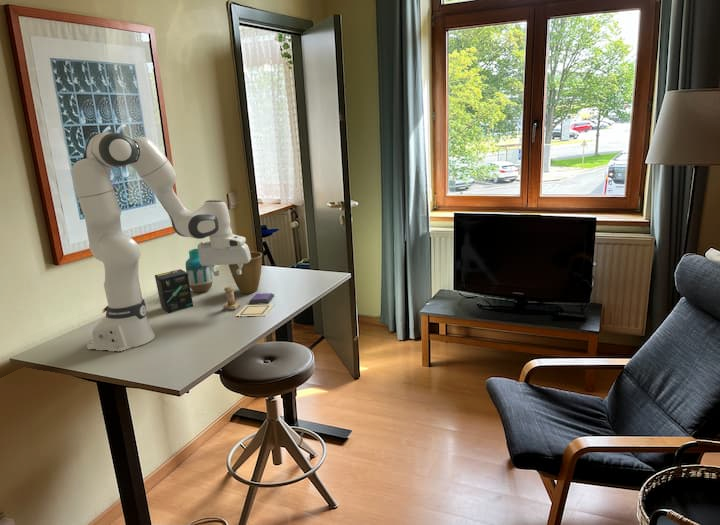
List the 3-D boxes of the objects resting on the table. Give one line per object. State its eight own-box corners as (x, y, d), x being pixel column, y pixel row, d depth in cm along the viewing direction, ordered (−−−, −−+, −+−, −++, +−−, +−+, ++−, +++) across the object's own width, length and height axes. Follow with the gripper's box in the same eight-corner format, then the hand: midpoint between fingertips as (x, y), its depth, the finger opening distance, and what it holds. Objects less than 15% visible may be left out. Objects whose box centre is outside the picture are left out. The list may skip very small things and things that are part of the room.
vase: (185, 294, 232) (177, 253, 227) (199, 286, 242) (192, 246, 237) (205, 295, 229) (198, 253, 224) (218, 287, 238) (212, 246, 233)
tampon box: (186, 301, 223) (180, 268, 219) (194, 306, 216) (188, 272, 212) (160, 308, 217) (153, 274, 213) (167, 313, 210) (160, 278, 206)
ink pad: (249, 304, 213) (249, 299, 212) (256, 297, 221) (255, 293, 220) (268, 303, 212) (268, 299, 211) (274, 296, 219) (273, 292, 219)
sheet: (234, 317, 200) (234, 316, 200) (245, 305, 211) (245, 304, 211) (265, 316, 198) (265, 315, 198) (274, 304, 209) (274, 304, 209)
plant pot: (253, 297, 220) (247, 261, 216) (225, 295, 227) (219, 259, 223) (273, 286, 233) (268, 251, 229) (246, 284, 240) (241, 250, 235)
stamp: (223, 310, 208) (220, 289, 206) (228, 306, 213) (225, 285, 210) (235, 310, 207) (232, 289, 205) (240, 305, 212) (237, 285, 210)
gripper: (193, 244, 201) (199, 278, 205) (243, 241, 198) (249, 276, 202) (200, 240, 207) (206, 273, 211) (249, 237, 204) (254, 271, 208)
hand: (227, 274), depth 207 cm, fingers open, 8 cm apart
